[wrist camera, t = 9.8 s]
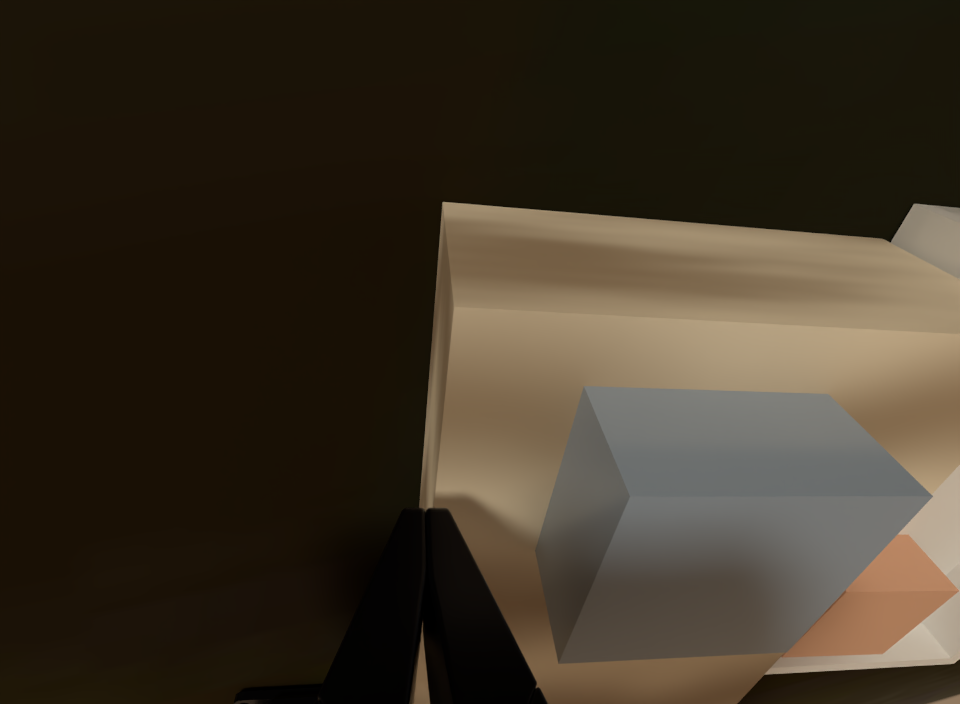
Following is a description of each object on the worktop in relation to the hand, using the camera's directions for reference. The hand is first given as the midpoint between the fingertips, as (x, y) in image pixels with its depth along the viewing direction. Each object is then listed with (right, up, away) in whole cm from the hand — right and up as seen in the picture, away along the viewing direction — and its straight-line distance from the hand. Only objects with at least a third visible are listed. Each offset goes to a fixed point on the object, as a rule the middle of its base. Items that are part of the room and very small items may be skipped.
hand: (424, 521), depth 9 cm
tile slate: (+5, 0, +2) cm, 5 cm away
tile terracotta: (+17, -8, +11) cm, 21 cm away
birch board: (+5, -1, +9) cm, 10 cm away
